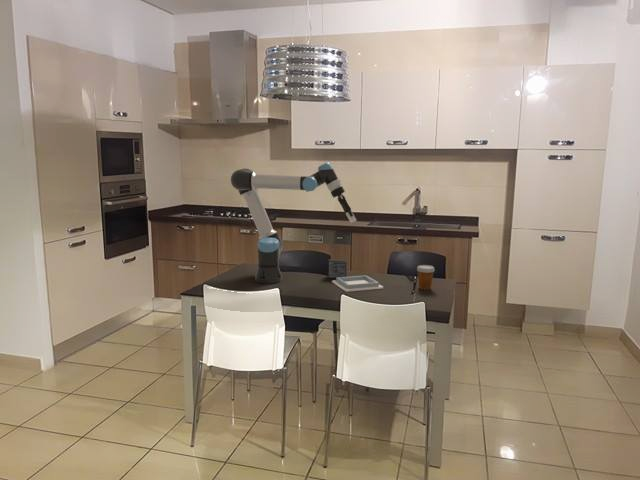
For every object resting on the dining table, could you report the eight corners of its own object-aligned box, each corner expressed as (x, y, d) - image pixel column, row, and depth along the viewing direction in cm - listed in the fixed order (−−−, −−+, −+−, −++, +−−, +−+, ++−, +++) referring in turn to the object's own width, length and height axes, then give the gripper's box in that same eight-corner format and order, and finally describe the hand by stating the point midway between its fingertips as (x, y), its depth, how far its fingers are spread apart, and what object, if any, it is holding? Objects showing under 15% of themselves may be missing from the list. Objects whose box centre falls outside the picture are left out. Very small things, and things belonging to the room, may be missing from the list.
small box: (346, 276, 299) (347, 259, 298) (346, 279, 293) (346, 261, 291) (328, 275, 300) (329, 258, 298) (327, 278, 294) (328, 260, 292)
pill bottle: (423, 291, 271) (424, 269, 268) (412, 287, 279) (413, 265, 277) (437, 289, 275) (438, 267, 273) (425, 285, 283) (427, 264, 281)
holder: (345, 291, 268) (345, 286, 267) (331, 282, 286) (332, 277, 285) (383, 288, 275) (383, 283, 274) (367, 279, 293) (367, 274, 293)
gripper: (343, 183, 276) (361, 218, 276) (340, 187, 300) (357, 219, 301) (330, 190, 276) (349, 224, 276) (329, 193, 300) (346, 225, 301)
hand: (353, 221), depth 289 cm, fingers open, 13 cm apart
